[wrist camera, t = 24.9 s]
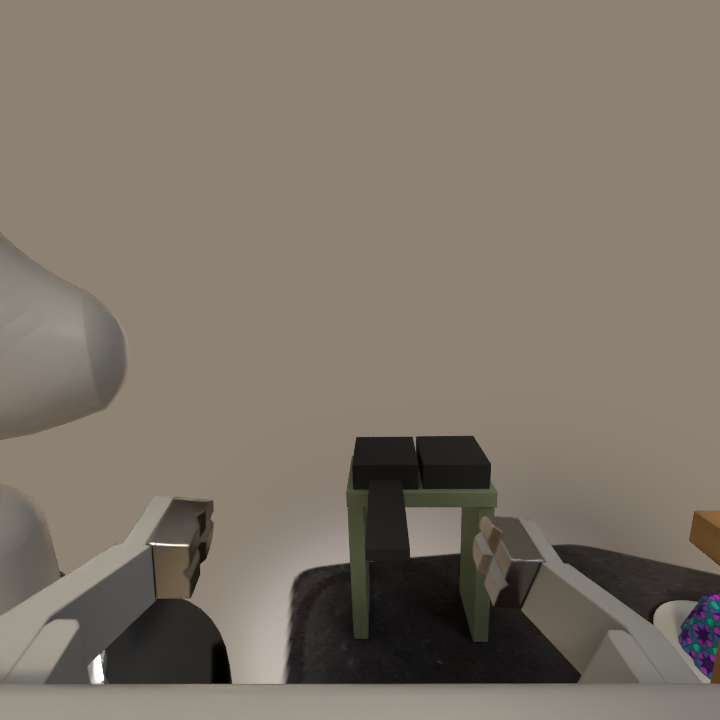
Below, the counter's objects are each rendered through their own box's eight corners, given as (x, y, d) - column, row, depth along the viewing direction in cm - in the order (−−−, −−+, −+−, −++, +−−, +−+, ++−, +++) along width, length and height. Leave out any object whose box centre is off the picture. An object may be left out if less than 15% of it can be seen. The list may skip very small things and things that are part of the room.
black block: (423, 489, 32) (423, 464, 31) (416, 457, 38) (416, 436, 37) (490, 489, 31) (491, 463, 31) (472, 457, 37) (473, 435, 37)
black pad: (343, 561, 24) (341, 528, 23) (357, 458, 38) (356, 437, 37) (432, 562, 23) (432, 529, 23) (412, 458, 37) (412, 436, 37)
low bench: (353, 644, 35) (346, 492, 32) (357, 585, 42) (352, 456, 38) (489, 647, 34) (497, 492, 31) (471, 587, 41) (476, 455, 38)
